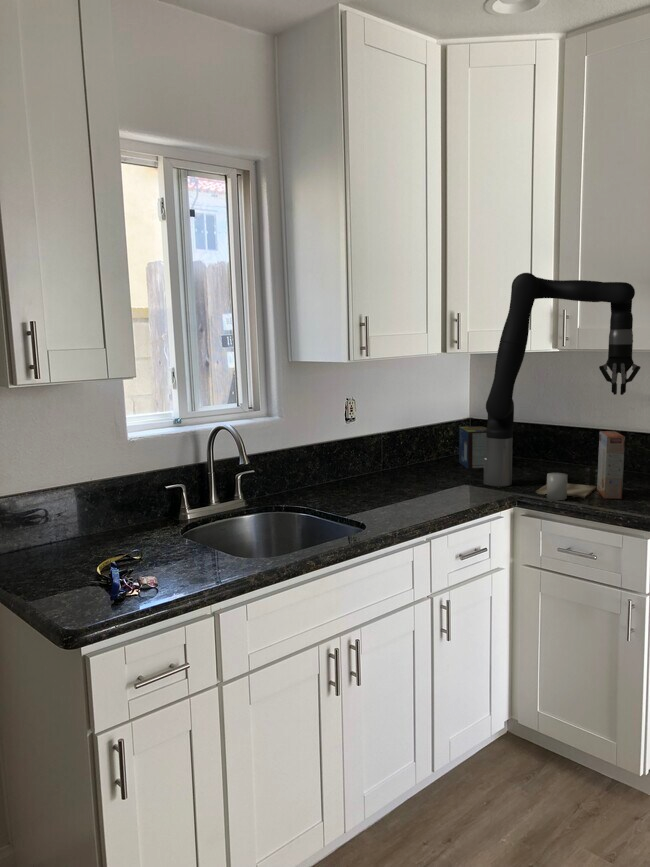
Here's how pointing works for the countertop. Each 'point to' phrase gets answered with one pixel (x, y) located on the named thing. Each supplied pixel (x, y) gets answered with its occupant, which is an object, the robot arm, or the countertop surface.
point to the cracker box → (610, 464)
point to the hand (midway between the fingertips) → (618, 394)
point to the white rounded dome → (556, 486)
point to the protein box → (472, 446)
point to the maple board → (572, 490)
